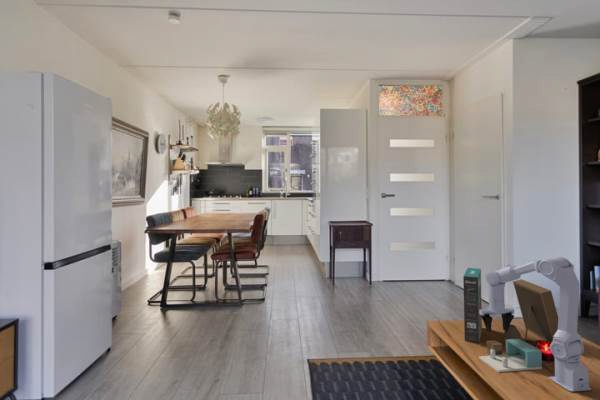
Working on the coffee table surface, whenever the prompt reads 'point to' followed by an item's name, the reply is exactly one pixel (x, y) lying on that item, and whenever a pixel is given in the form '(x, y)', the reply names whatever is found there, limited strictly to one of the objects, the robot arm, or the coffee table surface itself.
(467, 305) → the cake mix box
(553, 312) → the photo frame
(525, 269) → the robot arm
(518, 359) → the base plate
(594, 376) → the coffee table surface
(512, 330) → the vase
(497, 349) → the block
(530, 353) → the cover
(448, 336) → the coffee table surface
